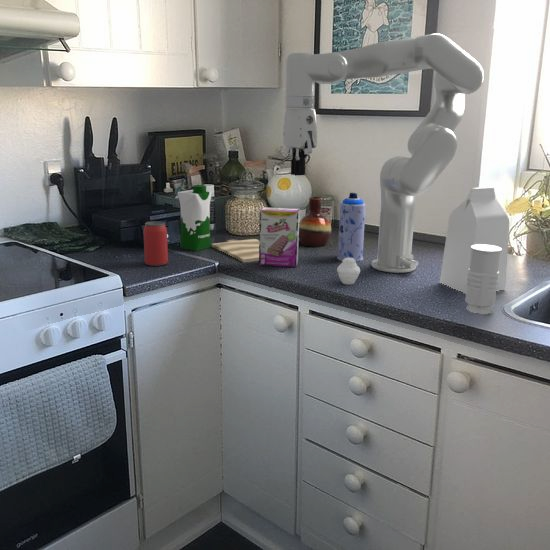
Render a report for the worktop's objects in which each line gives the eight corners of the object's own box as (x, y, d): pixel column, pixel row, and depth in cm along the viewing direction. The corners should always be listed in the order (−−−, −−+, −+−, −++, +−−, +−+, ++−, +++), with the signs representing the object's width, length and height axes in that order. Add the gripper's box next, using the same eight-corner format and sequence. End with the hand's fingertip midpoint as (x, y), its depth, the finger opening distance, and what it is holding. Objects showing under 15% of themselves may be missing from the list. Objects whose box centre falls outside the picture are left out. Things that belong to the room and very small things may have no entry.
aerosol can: (335, 255, 192) (337, 191, 187) (359, 255, 193) (363, 191, 187) (339, 262, 185) (342, 195, 179) (365, 261, 185) (369, 195, 180)
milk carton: (196, 252, 193) (195, 188, 187) (175, 247, 198) (173, 185, 192) (215, 247, 200) (214, 185, 194) (194, 243, 205) (193, 182, 199)
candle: (465, 313, 142) (472, 250, 138) (462, 304, 149) (468, 243, 145) (496, 316, 141) (504, 252, 137) (492, 306, 148) (499, 245, 144)
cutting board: (290, 256, 190) (290, 253, 190) (243, 262, 182) (243, 259, 182) (251, 240, 210) (251, 237, 210) (208, 245, 202) (208, 242, 202)
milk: (468, 295, 156) (479, 192, 148) (439, 282, 166) (448, 185, 158) (505, 290, 160) (518, 190, 153) (475, 278, 170) (485, 183, 163)
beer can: (172, 263, 179) (171, 223, 176) (153, 268, 175) (152, 226, 171) (158, 259, 184) (157, 219, 180) (140, 263, 179) (138, 222, 176)
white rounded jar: (347, 287, 160) (348, 261, 158) (331, 281, 165) (332, 256, 163) (364, 283, 164) (366, 258, 162) (348, 278, 168) (350, 253, 167)
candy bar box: (258, 266, 179) (259, 209, 174) (260, 261, 184) (261, 206, 179) (297, 267, 178) (298, 211, 173) (298, 263, 183) (299, 208, 178)
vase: (295, 240, 211) (296, 195, 207) (327, 240, 212) (329, 195, 208) (299, 248, 201) (301, 200, 196) (333, 247, 202) (335, 200, 197)
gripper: (328, 104, 156) (325, 177, 161) (296, 103, 169) (294, 171, 174) (303, 104, 152) (301, 179, 158) (272, 102, 165) (271, 172, 170)
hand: (297, 174), depth 166 cm, fingers closed
